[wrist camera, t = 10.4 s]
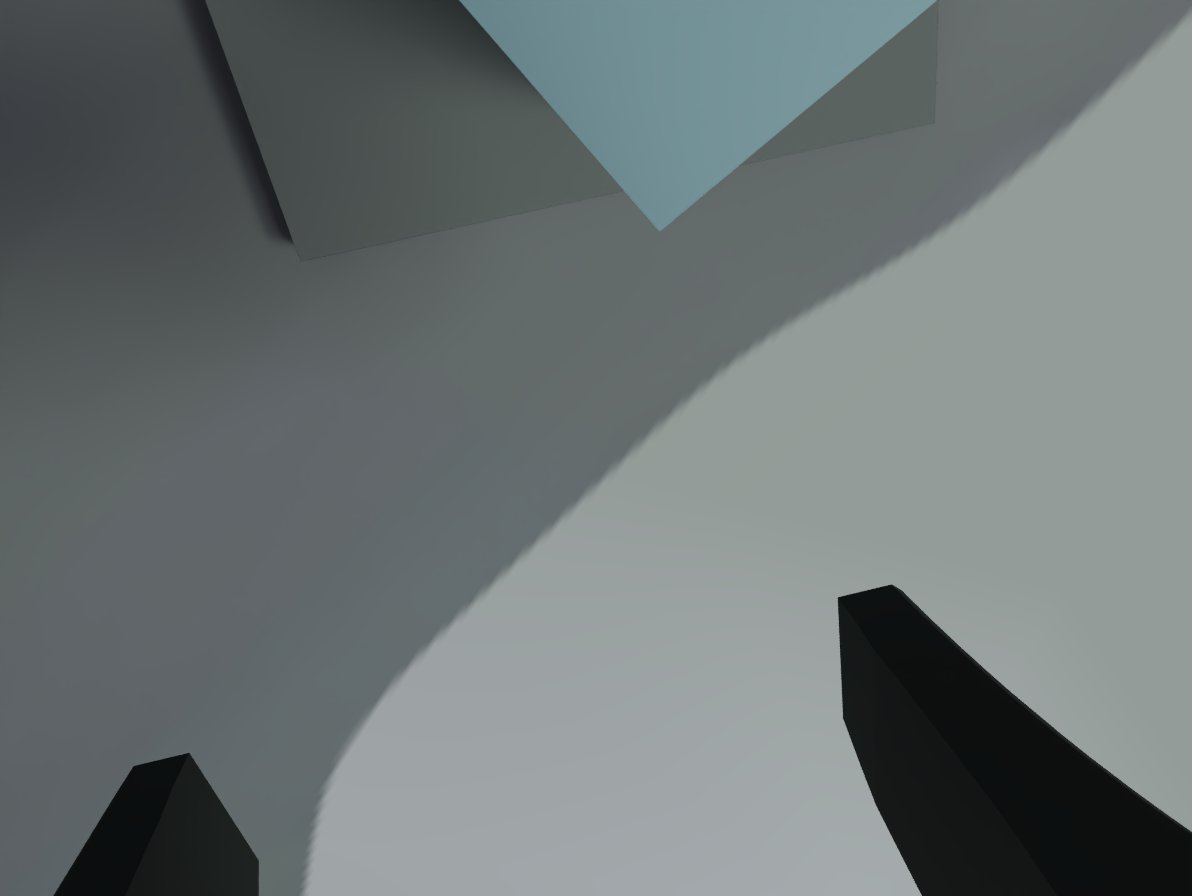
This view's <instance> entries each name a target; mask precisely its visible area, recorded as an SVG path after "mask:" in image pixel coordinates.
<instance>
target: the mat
mask: <svg viewBox="0 0 1192 896" xmlns="http://www.w3.org/2000/svg"><path fill="white" fill-rule="evenodd" d="M205 1H206V4H207V7H208V9H209V12H210V15H211V17H212V20H213V23H214V26H215V28H216V31H217V34H218V37H219V39H220V42H221V45H222V48H223V50H224V53H225V56H226V59H227V61H228V64H229V67H230V70H231V72H232V75H233V78H234V81H235V83H236V86H237V89H238V92H239V94H240V97H241V100H242V103H243V105H244V108H245V111H246V113H247V116H248V119H249V122H250V124H251V127H252V130H253V133H254V135H255V138H256V141H257V144H258V146H259V149H260V152H261V155H262V157H263V160H264V163H265V166H266V168H267V171H268V174H269V177H270V179H271V182H272V185H273V188H274V190H275V193H276V196H277V198H278V201H279V204H280V207H281V209H282V212H283V215H284V218H285V220H286V223H287V226H288V229H289V231H290V234H291V237H292V240H293V242H294V245H295V248H296V251H297V253H298V256H299V259H300V262H302V261H306V260H311V259H315V258H320V257H325V256H329V255H334V254H338V253H343V252H347V251H352V250H357V249H361V248H366V247H370V246H375V245H379V244H384V243H389V242H393V241H398V240H402V239H407V238H411V237H416V236H421V235H425V234H430V233H434V232H439V231H443V230H448V229H453V228H457V227H462V226H466V225H471V224H475V223H480V222H485V221H489V220H494V219H498V218H503V217H507V216H512V215H517V214H521V213H526V212H530V211H535V210H539V209H544V208H549V207H553V206H558V205H562V204H567V203H571V202H576V201H581V200H585V199H590V198H594V197H599V196H604V195H608V194H613V193H617V192H622V191H624V190H623V189H622V188H621V186H620V185H619V184H618V183H617V182H616V181H615V180H614V178H613V177H612V176H611V175H610V174H609V173H608V171H607V170H606V169H605V168H604V167H603V166H602V165H601V163H600V162H599V161H598V160H597V159H596V158H595V156H594V155H593V154H592V153H591V152H590V151H589V150H588V148H587V147H586V146H585V145H584V144H583V143H582V141H581V140H580V139H579V138H578V137H577V136H576V135H575V133H574V132H573V131H572V130H571V129H570V128H569V126H568V125H567V124H566V123H565V122H564V121H563V119H562V118H561V117H560V116H559V115H558V114H557V113H556V111H555V110H554V109H553V108H552V107H551V106H550V104H549V103H548V102H547V101H546V100H545V99H544V98H543V96H542V95H541V94H540V93H539V92H538V91H537V89H536V88H535V87H534V86H533V85H532V84H531V83H530V81H529V80H528V79H527V78H526V77H525V76H524V74H523V73H522V72H521V71H520V70H519V69H518V68H517V66H516V65H515V64H514V63H513V62H512V61H511V59H510V58H509V57H508V56H507V55H506V54H505V53H504V51H503V50H502V49H501V48H500V47H499V46H498V44H497V43H496V42H495V41H494V40H493V39H492V38H491V36H490V35H489V34H488V33H487V32H486V31H485V29H484V28H483V27H482V26H481V25H480V24H479V23H478V21H477V20H476V19H475V18H474V17H473V16H472V14H471V13H470V12H469V11H468V10H467V9H466V7H465V6H464V5H463V4H462V3H461V2H460V1H459V0H205ZM938 6H939V0H937V1H936V2H934V3H933V4H932V5H931V6H930V7H928V8H927V9H926V10H925V11H924V12H922V13H921V14H920V15H919V16H918V17H916V18H915V19H914V20H913V21H912V22H910V23H909V24H908V25H907V26H906V27H904V28H903V29H902V30H901V31H900V32H898V33H897V34H896V35H895V36H894V37H892V38H891V39H890V40H889V41H888V42H886V43H885V44H884V45H883V46H882V47H880V48H879V49H878V50H877V51H876V52H874V53H873V54H872V55H871V56H870V57H868V58H867V59H866V60H865V61H864V62H862V63H861V64H860V65H859V66H858V67H856V68H855V69H854V70H853V71H852V72H850V73H849V74H848V75H847V76H846V77H844V78H843V79H842V80H841V81H840V82H839V83H837V84H836V85H835V86H834V87H833V88H831V89H830V90H829V91H828V92H827V93H825V94H824V95H823V96H822V97H821V98H819V99H818V100H817V101H816V102H815V103H813V104H812V105H811V106H810V107H809V108H807V109H806V110H805V111H804V112H803V113H801V114H800V115H799V116H798V117H797V118H795V119H794V120H793V121H792V122H791V123H789V124H788V125H787V126H786V127H785V128H783V129H782V130H781V131H780V132H779V133H777V134H776V135H775V136H774V137H773V138H771V139H770V140H769V141H768V142H767V143H765V144H764V145H763V146H762V147H761V148H759V149H758V150H757V151H756V152H755V153H753V154H752V155H751V156H750V157H749V158H747V159H746V160H745V161H744V162H743V163H741V164H740V165H739V166H741V165H745V164H750V163H754V162H759V161H764V160H768V159H773V158H777V157H782V156H786V155H791V154H796V153H800V152H805V151H809V150H814V149H818V148H823V147H828V146H832V145H837V144H841V143H846V142H850V141H855V140H860V139H864V138H869V137H873V136H878V135H882V134H887V133H892V132H896V131H901V130H905V129H910V128H914V127H919V126H924V125H928V124H933V123H935V100H936V69H937V37H938Z"/></svg>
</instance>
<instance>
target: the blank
mask: <svg viewBox="0 0 1192 896" xmlns="http://www.w3.org/2000/svg"><path fill="white" fill-rule="evenodd" d="M459 1H460V2H461V3H462V4H463V5H464V6H465V7H466V9H467V10H468V11H469V12H470V13H471V14H472V16H473V17H474V18H475V19H476V20H477V21H478V23H479V24H480V25H481V26H482V27H483V28H484V29H485V31H486V32H487V33H488V34H489V35H490V36H491V38H492V39H493V40H494V41H495V42H496V43H497V44H498V46H499V47H500V48H501V49H502V50H503V51H504V53H505V54H506V55H507V56H508V57H509V58H510V59H511V61H512V62H513V63H514V64H515V65H516V66H517V68H518V69H519V70H520V71H521V72H522V73H523V74H524V76H525V77H526V78H527V79H528V80H529V81H530V83H531V84H532V85H533V86H534V87H535V88H536V89H537V91H538V92H539V93H540V94H541V95H542V96H543V98H544V99H545V100H546V101H547V102H548V103H549V104H550V106H551V107H552V108H553V109H554V110H555V111H556V113H557V114H558V115H559V116H560V117H561V118H562V119H563V121H564V122H565V123H566V124H567V125H568V126H569V128H570V129H571V130H572V131H573V132H574V133H575V135H576V136H577V137H578V138H579V139H580V140H581V141H582V143H583V144H584V145H585V146H586V147H587V148H588V150H589V151H590V152H591V153H592V154H593V155H594V156H595V158H596V159H597V160H598V161H599V162H600V163H601V165H602V166H603V167H604V168H605V169H606V170H607V171H608V173H609V174H610V175H611V176H612V177H613V178H614V180H615V181H616V182H617V183H618V184H619V185H620V186H621V188H622V189H623V190H624V191H625V192H626V193H627V195H628V196H629V197H630V198H631V199H632V200H633V201H634V203H635V204H636V205H637V206H638V207H639V208H640V210H641V211H642V212H643V213H644V214H645V215H646V216H647V218H648V219H649V220H650V221H651V222H652V223H653V225H654V226H655V227H656V228H657V229H658V230H659V231H661V230H662V229H663V228H665V227H666V226H667V225H668V224H669V223H671V222H672V221H673V220H674V219H675V218H677V217H678V216H679V215H680V214H681V213H683V212H684V211H685V210H686V209H687V208H689V207H690V206H691V205H692V204H693V203H695V202H696V201H697V200H698V199H699V198H701V197H702V196H703V195H704V194H705V193H707V192H708V191H709V190H710V189H711V188H713V187H714V186H715V185H716V184H717V183H719V182H720V181H721V180H722V179H723V178H725V177H726V176H727V175H728V174H729V173H731V172H732V171H733V170H734V169H735V168H737V167H738V166H739V165H740V164H741V163H743V162H744V161H745V160H746V159H747V158H749V157H750V156H751V155H752V154H753V153H755V152H756V151H757V150H758V149H759V148H761V147H762V146H763V145H764V144H765V143H767V142H768V141H769V140H770V139H771V138H773V137H774V136H775V135H776V134H777V133H779V132H780V131H781V130H782V129H783V128H785V127H786V126H787V125H788V124H789V123H791V122H792V121H793V120H794V119H795V118H797V117H798V116H799V115H800V114H801V113H803V112H804V111H805V110H806V109H807V108H809V107H810V106H811V105H812V104H813V103H815V102H816V101H817V100H818V99H819V98H821V97H822V96H823V95H824V94H825V93H827V92H828V91H829V90H830V89H831V88H833V87H834V86H835V85H836V84H837V83H839V82H840V81H841V80H842V79H843V78H844V77H846V76H847V75H848V74H849V73H850V72H852V71H853V70H854V69H855V68H856V67H858V66H859V65H860V64H861V63H862V62H864V61H865V60H866V59H867V58H868V57H870V56H871V55H872V54H873V53H874V52H876V51H877V50H878V49H879V48H880V47H882V46H883V45H884V44H885V43H886V42H888V41H889V40H890V39H891V38H892V37H894V36H895V35H896V34H897V33H898V32H900V31H901V30H902V29H903V28H904V27H906V26H907V25H908V24H909V23H910V22H912V21H913V20H914V19H915V18H916V17H918V16H919V15H920V14H921V13H922V12H924V11H925V10H926V9H927V8H928V7H930V6H931V5H932V4H933V3H934V2H936V1H937V0H459Z"/></svg>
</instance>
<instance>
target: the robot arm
mask: <svg viewBox="0 0 1192 896" xmlns="http://www.w3.org/2000/svg"><path fill="white" fill-rule="evenodd" d="M838 613H839V633H840V634H839V635H840V657H841V677H842V678H841V679H842V701H843V719H844V722H845V724H846V727H847V730H848V732H849V735H850V738H851V740H852V743H853V746H854V749H855V751H856V754H857V757H858V759H859V762H860V765H861V767H862V770H863V773H864V775H865V778H866V780H867V783H868V785H869V788H870V791H871V793H872V796H873V798H874V801H875V803H876V806H877V808H878V810H879V812H880V814H881V816H882V818H883V820H884V822H885V823H886V826H887V828H888V830H889V832H890V834H891V835H892V838H893V840H894V842H895V844H896V845H897V848H898V849H899V851H900V853H901V855H902V857H903V859H904V861H905V863H906V865H907V867H908V869H909V871H910V873H911V875H912V877H913V879H914V881H915V883H916V885H917V887H918V889H919V891H920V893H921V894H922V896H1192V832H1191V831H1190V830H1188V829H1187V828H1185V827H1184V826H1182V825H1181V824H1179V823H1178V822H1177V821H1175V820H1174V819H1172V818H1171V817H1169V816H1168V815H1167V814H1165V813H1164V812H1163V811H1161V810H1159V809H1158V808H1157V807H1155V806H1154V805H1153V804H1152V803H1150V802H1149V801H1147V800H1146V799H1145V798H1143V797H1142V796H1140V795H1139V794H1138V793H1136V792H1135V791H1134V790H1132V789H1131V788H1130V787H1128V786H1127V785H1126V784H1124V783H1123V782H1122V781H1121V780H1119V779H1118V778H1117V777H1115V776H1114V775H1113V774H1111V773H1110V772H1109V771H1107V770H1106V769H1105V768H1103V767H1102V766H1101V765H1099V764H1098V763H1097V762H1096V761H1094V760H1093V759H1092V758H1090V757H1089V756H1088V755H1087V754H1085V753H1084V752H1083V751H1082V750H1080V749H1079V748H1078V747H1077V746H1075V745H1074V744H1073V743H1071V742H1070V741H1069V740H1068V739H1066V738H1065V737H1064V736H1063V735H1061V734H1060V733H1059V732H1058V731H1057V730H1055V729H1054V728H1053V727H1052V726H1051V725H1049V724H1048V723H1047V722H1046V721H1045V720H1043V719H1042V718H1041V717H1040V716H1039V715H1038V714H1036V713H1035V712H1034V711H1033V710H1032V709H1030V708H1029V707H1028V706H1027V705H1026V704H1024V703H1023V702H1022V701H1021V700H1020V699H1018V698H1017V697H1016V696H1015V695H1013V694H1012V693H1011V692H1010V691H1009V690H1008V689H1006V688H1005V687H1004V686H1003V685H1002V684H1001V683H1000V682H999V681H998V680H996V679H995V678H994V677H993V676H992V675H991V674H990V673H988V672H987V671H986V670H985V669H984V668H983V667H982V666H981V665H979V664H978V663H977V662H976V661H975V660H974V659H973V658H972V657H971V656H970V655H969V654H967V653H966V652H965V651H964V650H963V649H962V648H961V647H960V646H959V645H958V644H957V643H955V642H954V641H953V640H952V639H951V638H950V637H949V636H948V635H947V634H946V633H945V632H944V631H943V630H942V629H941V628H940V627H938V626H937V625H936V624H935V623H934V622H933V621H932V620H931V619H930V618H929V617H928V616H927V615H926V614H925V613H924V612H923V611H922V610H921V609H920V608H919V607H918V606H917V605H916V604H915V603H914V602H913V601H912V600H911V599H910V598H909V597H908V596H907V595H906V594H905V593H904V592H903V591H901V590H900V589H898V588H897V587H895V586H893V585H888V586H883V587H880V588H876V589H871V590H867V591H863V592H859V593H854V594H850V595H846V596H842V597H838ZM258 893H259V860H258V859H257V857H256V856H255V854H254V853H253V851H252V849H251V848H250V846H249V845H248V843H247V842H246V840H245V839H244V837H243V836H242V834H241V832H240V831H239V829H238V828H237V826H236V825H235V823H234V822H233V820H232V818H231V817H230V815H229V814H228V812H227V811H226V809H225V808H224V806H223V804H222V803H221V801H220V800H219V798H218V797H217V795H216V794H215V792H214V791H213V789H212V787H211V786H210V784H209V783H208V781H207V780H206V778H205V777H204V775H203V773H202V772H201V770H200V769H199V767H198V766H197V764H196V763H195V761H194V759H193V758H192V756H191V755H190V753H187V754H183V755H178V756H174V757H170V758H166V759H162V760H158V761H153V762H149V763H145V764H141V765H137V766H133V768H132V770H131V771H130V773H129V774H128V776H127V777H126V779H125V781H124V782H123V784H122V785H121V787H120V788H119V790H118V792H117V793H116V795H115V796H114V798H113V800H112V801H111V803H110V804H109V806H108V808H107V809H106V811H105V813H104V814H103V816H102V817H101V819H100V821H99V822H98V824H97V826H96V827H95V829H94V830H93V832H92V834H91V835H90V837H89V839H88V840H87V842H86V844H85V845H84V847H83V849H82V850H81V852H80V853H79V855H78V857H77V858H76V860H75V862H74V863H73V865H72V866H71V868H70V870H69V871H68V873H67V875H66V876H65V878H64V879H63V881H62V883H61V884H60V886H59V888H58V889H57V891H56V892H55V894H54V896H258Z"/></svg>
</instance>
